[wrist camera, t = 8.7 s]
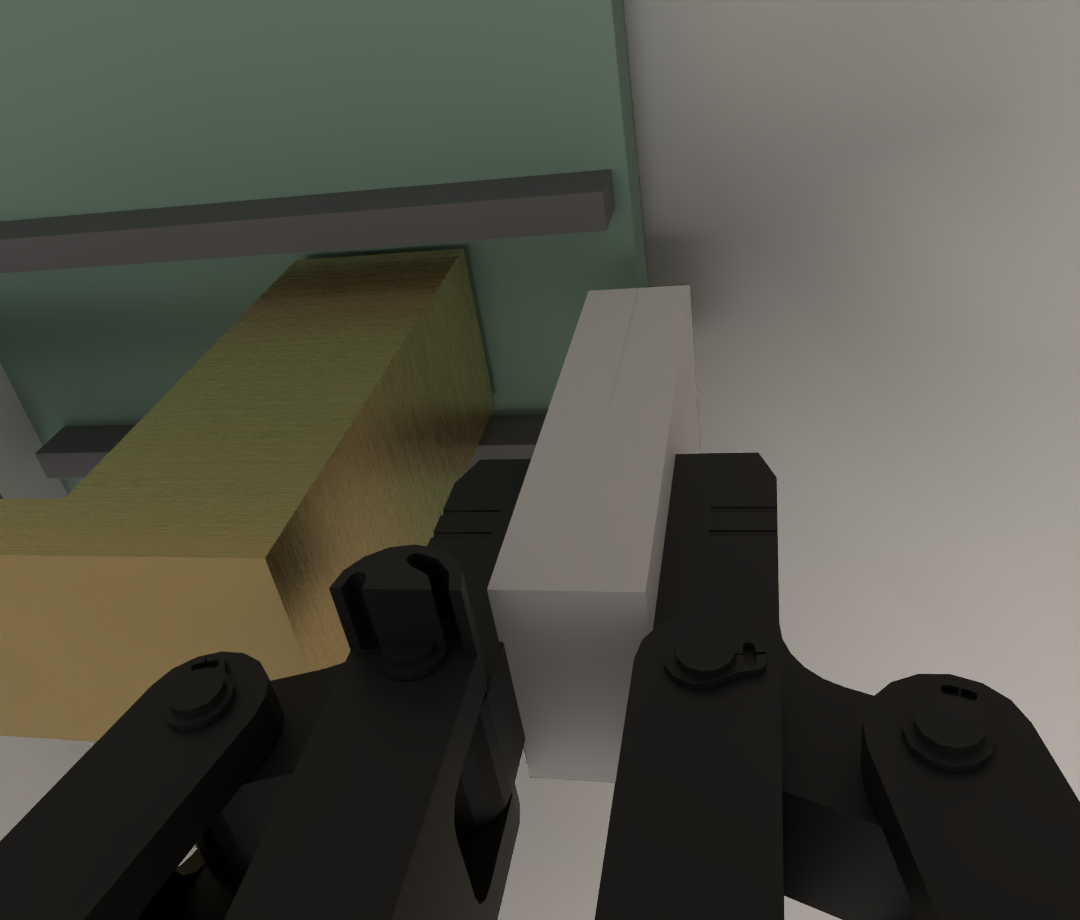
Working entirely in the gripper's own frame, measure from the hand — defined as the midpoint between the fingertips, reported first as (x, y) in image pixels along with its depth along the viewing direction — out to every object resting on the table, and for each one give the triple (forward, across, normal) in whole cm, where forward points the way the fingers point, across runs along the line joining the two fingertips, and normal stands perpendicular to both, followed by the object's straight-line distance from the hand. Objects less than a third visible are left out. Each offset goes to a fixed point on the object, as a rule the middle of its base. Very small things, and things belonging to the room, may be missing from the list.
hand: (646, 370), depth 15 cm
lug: (+2, -6, 0) cm, 6 cm away
